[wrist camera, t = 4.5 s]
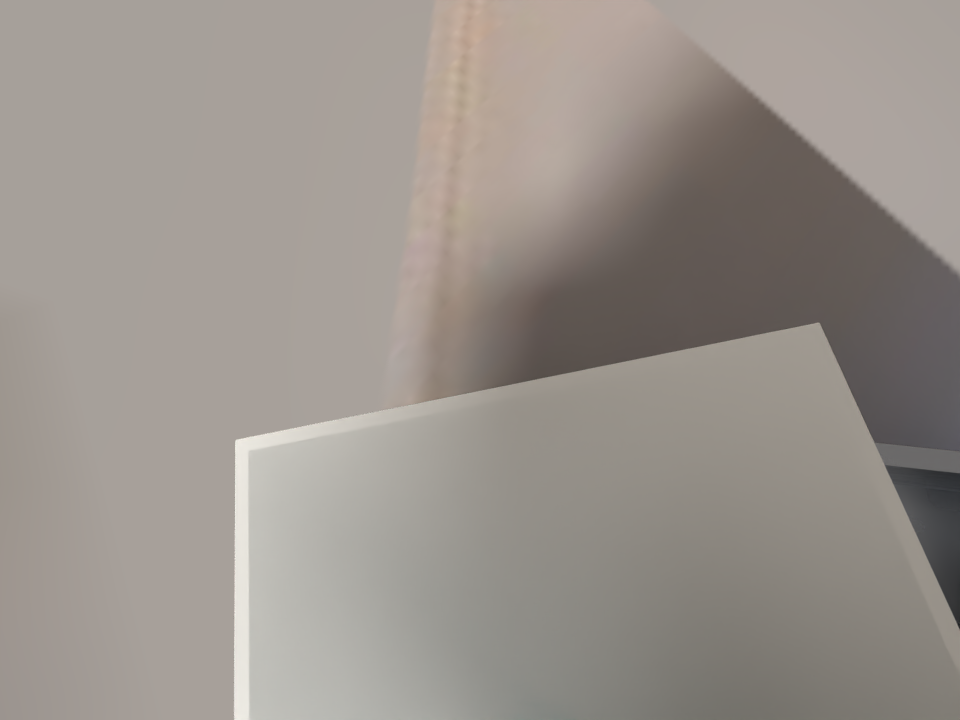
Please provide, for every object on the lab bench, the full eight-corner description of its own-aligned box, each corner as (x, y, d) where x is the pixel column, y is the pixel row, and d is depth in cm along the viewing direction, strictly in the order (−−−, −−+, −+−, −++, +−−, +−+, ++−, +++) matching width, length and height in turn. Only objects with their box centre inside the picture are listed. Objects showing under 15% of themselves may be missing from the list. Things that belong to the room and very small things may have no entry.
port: (1036, 732, 12) (1316, 864, 8) (772, 682, 13) (888, 773, 9) (988, 482, 14) (1193, 475, 9) (761, 457, 15) (852, 439, 10)
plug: (627, 597, 14) (1286, 1343, 2) (497, 618, 14) (230, 1383, 2) (594, 463, 15) (818, 323, 3) (476, 485, 16) (234, 439, 3)
